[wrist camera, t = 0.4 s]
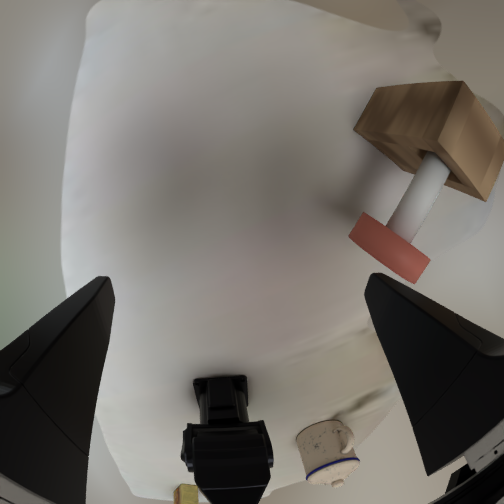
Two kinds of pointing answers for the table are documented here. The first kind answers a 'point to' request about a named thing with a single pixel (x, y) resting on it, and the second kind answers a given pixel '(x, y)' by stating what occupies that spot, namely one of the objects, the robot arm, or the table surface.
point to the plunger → (404, 222)
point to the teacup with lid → (327, 453)
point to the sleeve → (436, 132)
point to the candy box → (186, 494)
